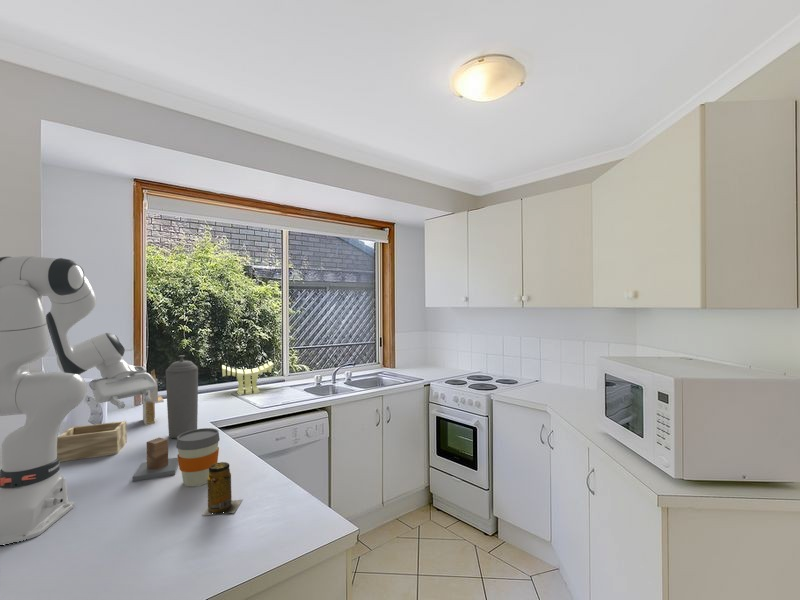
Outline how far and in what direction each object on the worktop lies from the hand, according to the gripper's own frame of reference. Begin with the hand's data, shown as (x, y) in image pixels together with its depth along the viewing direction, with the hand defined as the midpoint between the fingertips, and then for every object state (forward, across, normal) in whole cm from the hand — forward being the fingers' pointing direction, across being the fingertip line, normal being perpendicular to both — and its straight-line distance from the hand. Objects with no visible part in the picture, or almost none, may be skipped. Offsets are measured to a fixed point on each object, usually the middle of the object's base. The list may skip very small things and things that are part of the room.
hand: (135, 404), depth 140 cm
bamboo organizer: (-6, +2, +35) cm, 36 cm away
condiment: (+54, -10, -21) cm, 59 cm away
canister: (+6, +28, +24) cm, 37 cm away
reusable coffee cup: (+39, 0, -7) cm, 39 cm away
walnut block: (+23, -1, +6) cm, 24 cm away
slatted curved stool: (-20, +102, +46) cm, 113 cm away
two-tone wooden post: (-18, +37, +47) cm, 62 cm away
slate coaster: (+24, -1, +7) cm, 25 cm away
